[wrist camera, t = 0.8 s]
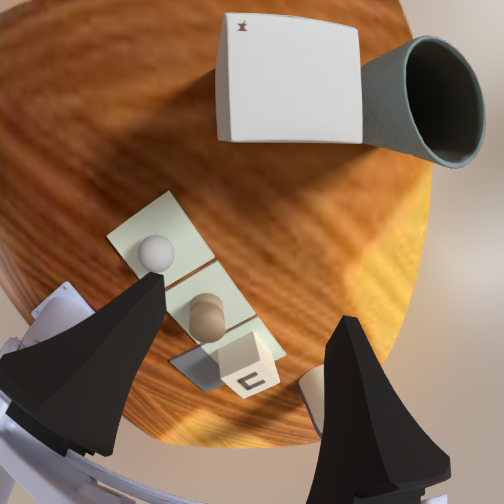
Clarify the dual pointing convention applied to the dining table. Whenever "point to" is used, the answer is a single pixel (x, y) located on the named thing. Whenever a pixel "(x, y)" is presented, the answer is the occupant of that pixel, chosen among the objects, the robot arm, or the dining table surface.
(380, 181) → the dining table surface
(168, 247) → the grey ball
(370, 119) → the grey plant pot
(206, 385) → the slate mat
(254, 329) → the tile set
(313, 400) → the cream belted figurine
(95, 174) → the dining table surface
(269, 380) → the letter cube
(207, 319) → the cork
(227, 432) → the dining table surface
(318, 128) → the supplement box
